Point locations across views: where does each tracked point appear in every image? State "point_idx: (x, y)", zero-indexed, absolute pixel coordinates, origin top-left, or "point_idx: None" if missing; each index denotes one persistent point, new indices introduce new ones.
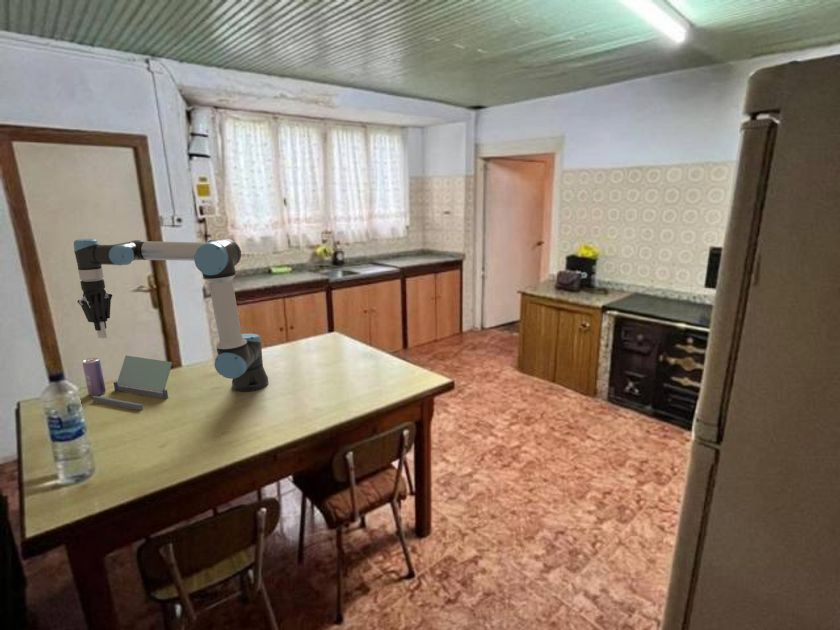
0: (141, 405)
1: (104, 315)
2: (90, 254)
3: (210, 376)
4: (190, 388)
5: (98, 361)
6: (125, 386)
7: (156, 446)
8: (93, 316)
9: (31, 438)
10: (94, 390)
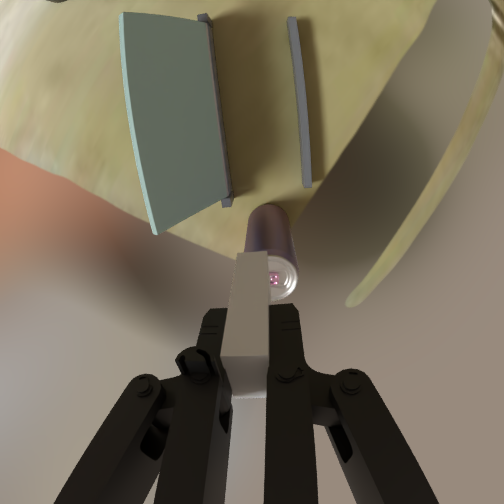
0: (290, 17)
1: (183, 422)
2: None
3: (66, 68)
4: None
5: None
6: None
7: None
8: (362, 441)
9: (461, 150)
10: (284, 215)
